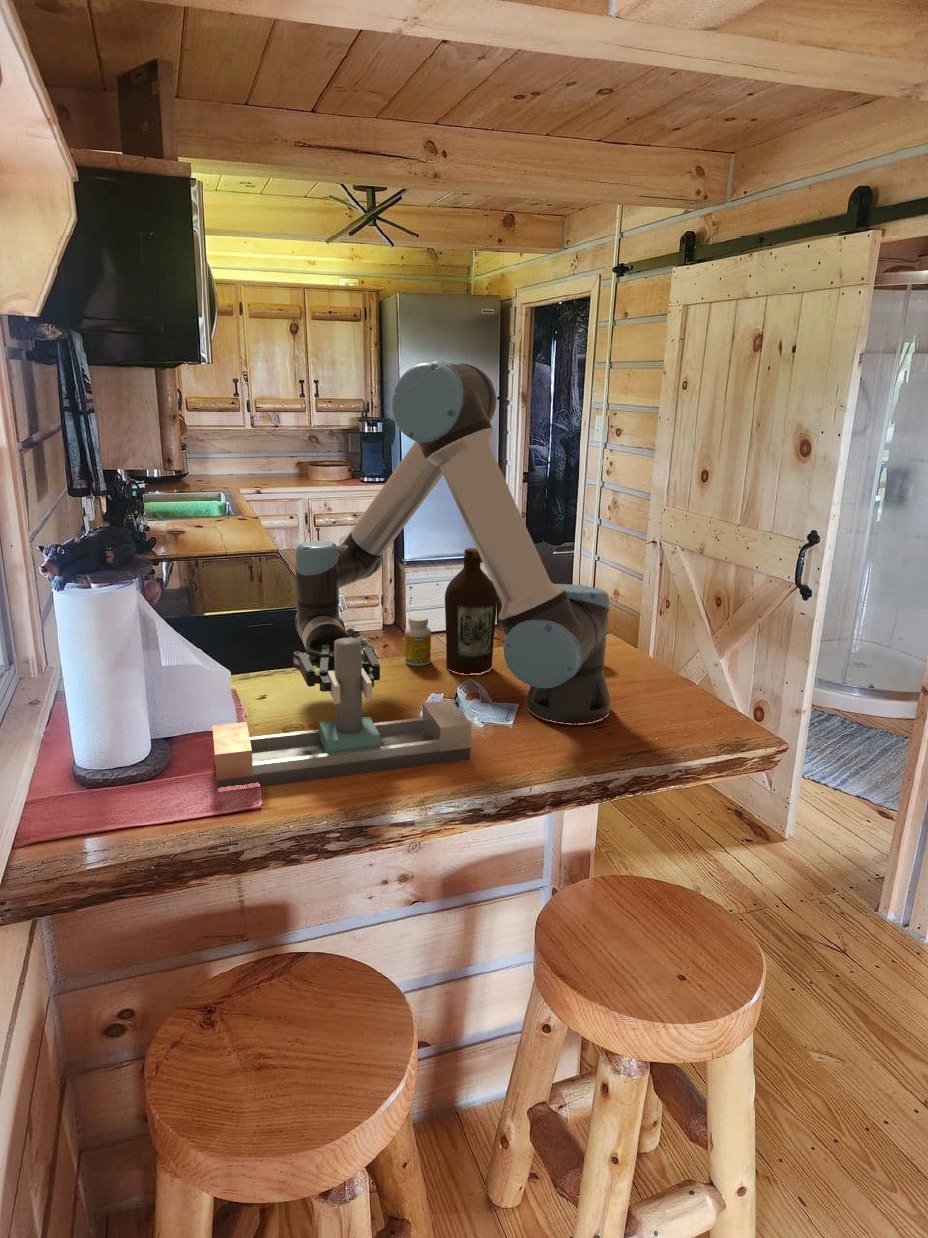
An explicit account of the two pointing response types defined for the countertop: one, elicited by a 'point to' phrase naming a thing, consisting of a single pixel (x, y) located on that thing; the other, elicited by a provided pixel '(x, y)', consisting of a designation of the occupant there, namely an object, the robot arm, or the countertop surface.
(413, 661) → the supplement bottle
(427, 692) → the countertop surface
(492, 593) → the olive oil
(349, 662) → the carriage
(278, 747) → the rail track
